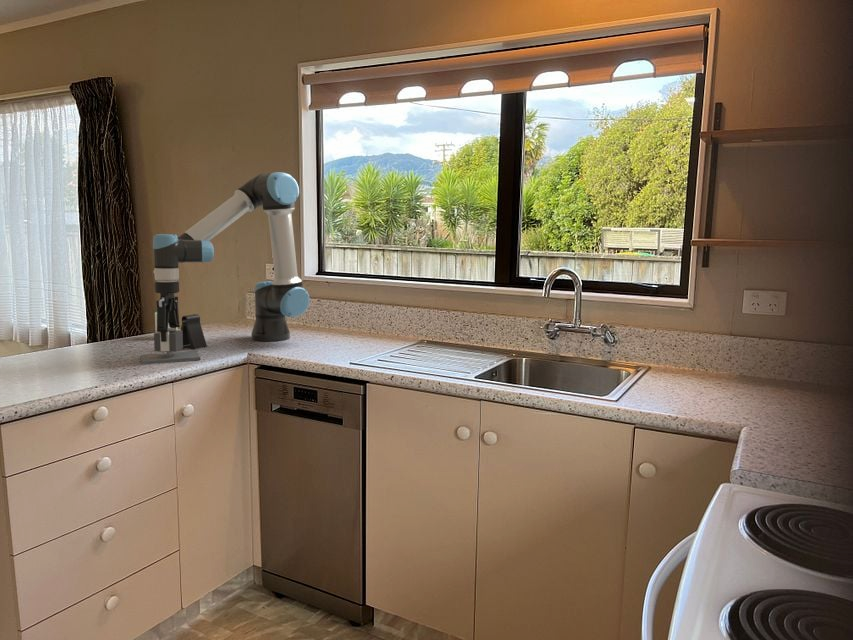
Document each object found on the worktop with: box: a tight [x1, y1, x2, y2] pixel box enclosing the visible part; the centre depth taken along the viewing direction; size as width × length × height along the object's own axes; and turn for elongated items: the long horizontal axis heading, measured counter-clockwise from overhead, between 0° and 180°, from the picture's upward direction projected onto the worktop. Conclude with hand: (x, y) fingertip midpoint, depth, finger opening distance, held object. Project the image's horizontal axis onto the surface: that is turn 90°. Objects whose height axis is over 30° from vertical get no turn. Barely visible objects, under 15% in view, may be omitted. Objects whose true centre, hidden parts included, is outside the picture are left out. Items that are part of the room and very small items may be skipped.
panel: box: [139, 350, 201, 365], centre depth 212 cm, size 18×12×8 cm, turn 116°
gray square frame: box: [153, 329, 184, 352], centre depth 212 cm, size 7×7×6 cm
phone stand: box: [180, 313, 208, 351], centre depth 233 cm, size 9×6×12 cm, turn 63°
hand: (169, 348), depth 212 cm, fingers closed on gray square frame, 7 cm apart
